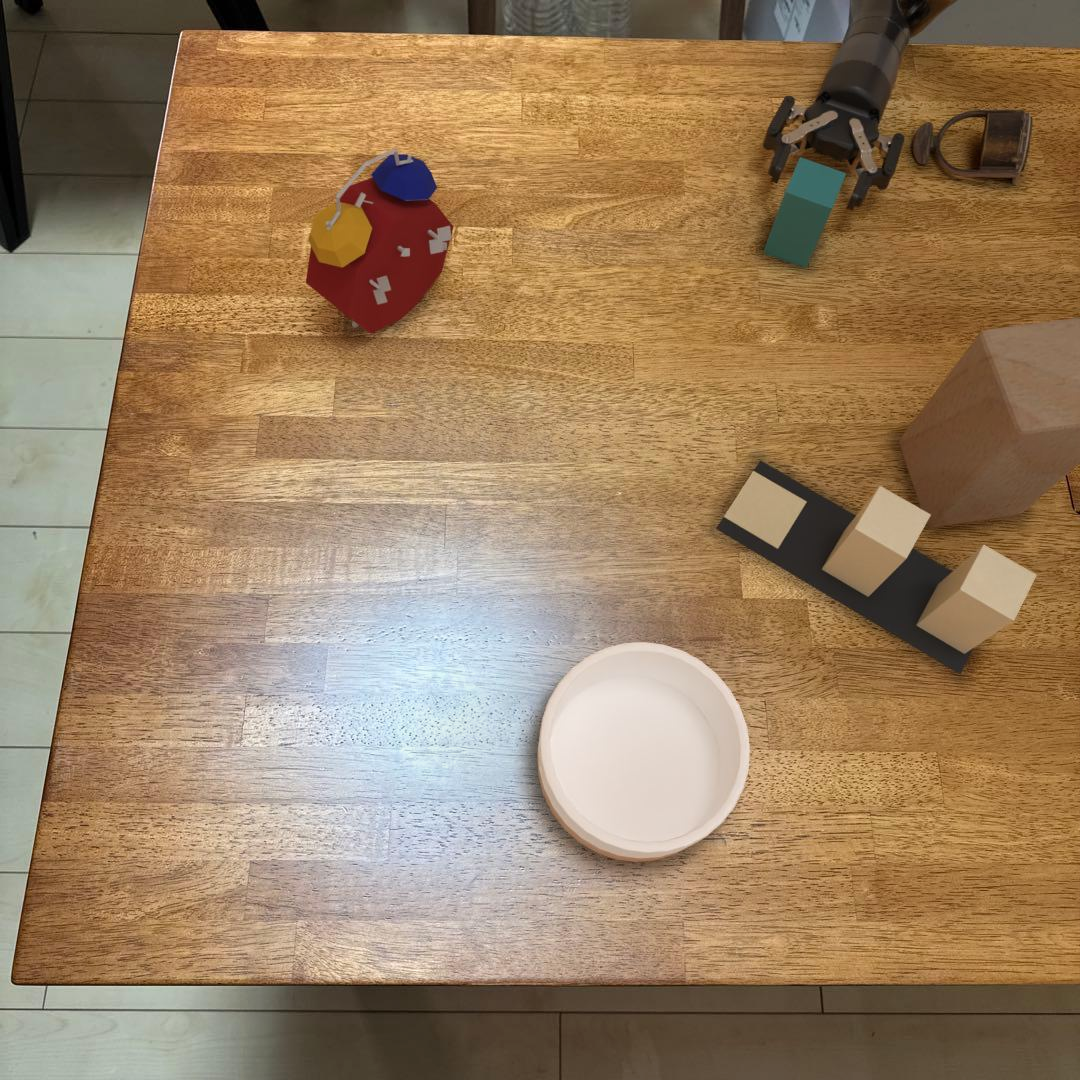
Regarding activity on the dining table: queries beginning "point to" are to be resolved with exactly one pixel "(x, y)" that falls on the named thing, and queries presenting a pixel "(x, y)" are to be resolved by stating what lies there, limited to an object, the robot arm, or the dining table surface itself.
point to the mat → (808, 540)
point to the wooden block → (999, 425)
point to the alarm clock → (380, 243)
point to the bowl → (642, 751)
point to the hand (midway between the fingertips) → (813, 190)
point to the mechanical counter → (984, 143)
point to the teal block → (804, 212)
